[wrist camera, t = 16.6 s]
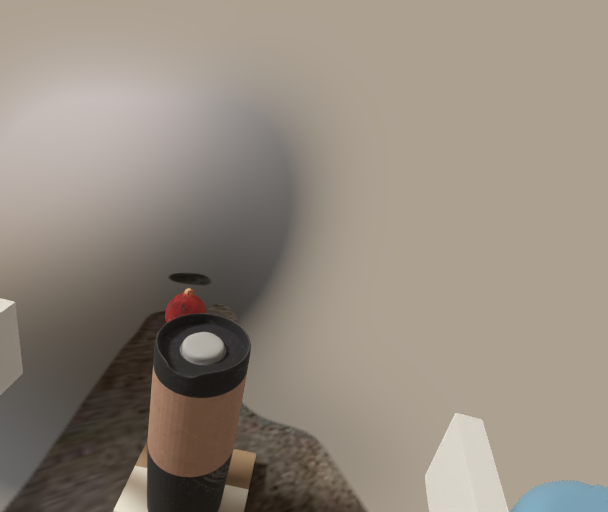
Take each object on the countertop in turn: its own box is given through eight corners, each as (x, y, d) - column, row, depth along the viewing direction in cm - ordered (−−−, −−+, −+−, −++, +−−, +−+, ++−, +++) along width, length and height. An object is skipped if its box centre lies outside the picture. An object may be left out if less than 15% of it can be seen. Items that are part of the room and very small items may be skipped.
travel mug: (208, 456, 50) (231, 306, 41) (235, 519, 44) (268, 361, 35) (135, 480, 46) (142, 319, 37) (155, 553, 40) (169, 384, 31)
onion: (193, 350, 66) (198, 305, 63) (157, 339, 67) (159, 294, 63) (208, 328, 72) (214, 285, 68) (174, 318, 72) (178, 275, 68)
